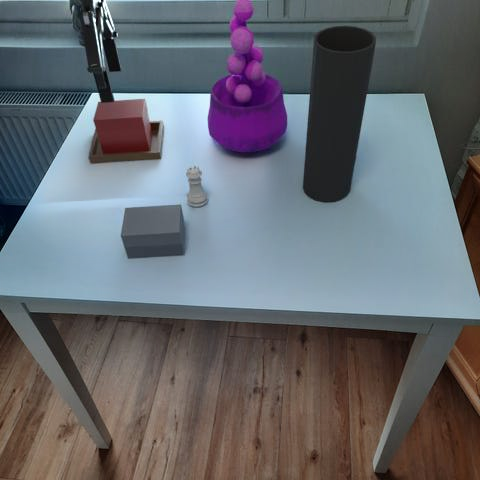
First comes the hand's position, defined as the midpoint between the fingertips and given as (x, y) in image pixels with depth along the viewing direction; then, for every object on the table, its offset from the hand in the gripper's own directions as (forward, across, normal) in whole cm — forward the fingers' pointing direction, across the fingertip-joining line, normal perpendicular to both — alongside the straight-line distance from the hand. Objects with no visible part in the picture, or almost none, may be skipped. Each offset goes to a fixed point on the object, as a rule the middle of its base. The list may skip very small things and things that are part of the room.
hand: (111, 85), depth 102 cm
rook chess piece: (+15, -22, -17) cm, 32 cm away
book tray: (+15, 0, 0) cm, 15 cm away
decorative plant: (+15, 0, -29) cm, 33 cm away
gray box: (+15, -34, -9) cm, 38 cm away
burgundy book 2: (+11, 0, 0) cm, 11 cm away
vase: (+15, -20, -45) cm, 52 cm away
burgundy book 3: (+14, 0, 0) cm, 14 cm away
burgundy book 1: (+8, 0, 0) cm, 8 cm away
